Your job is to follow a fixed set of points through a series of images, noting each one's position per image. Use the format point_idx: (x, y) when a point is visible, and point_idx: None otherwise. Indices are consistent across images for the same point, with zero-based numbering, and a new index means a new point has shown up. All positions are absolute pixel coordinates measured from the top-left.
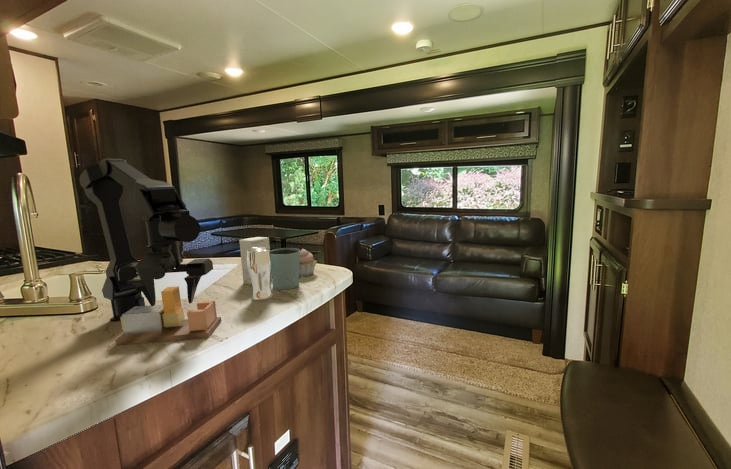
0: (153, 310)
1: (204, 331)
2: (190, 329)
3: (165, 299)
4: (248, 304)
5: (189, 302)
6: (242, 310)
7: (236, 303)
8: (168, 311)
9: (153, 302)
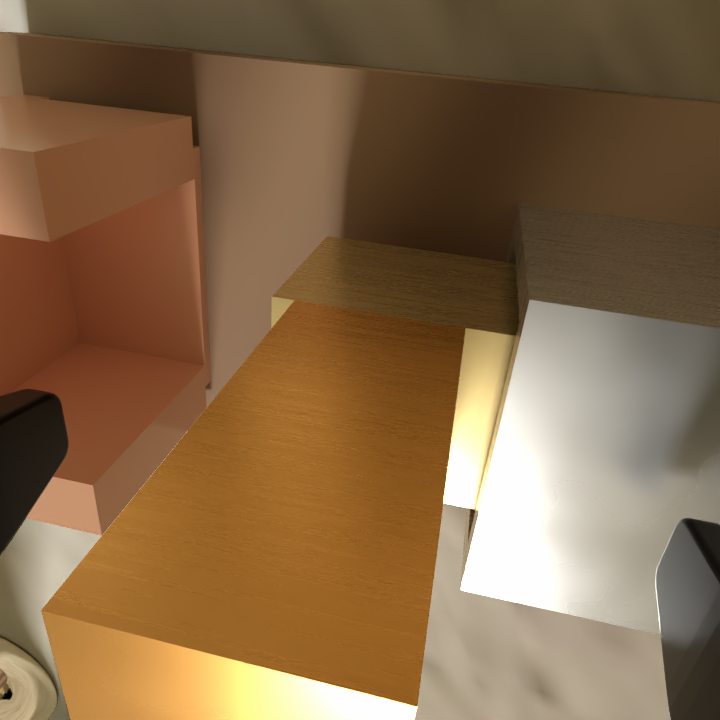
0: (657, 424)
1: (41, 82)
2: (170, 117)
3: (366, 476)
4: (32, 603)
5: (32, 396)
6: (23, 524)
7: None
8: (388, 333)
9: (688, 586)
